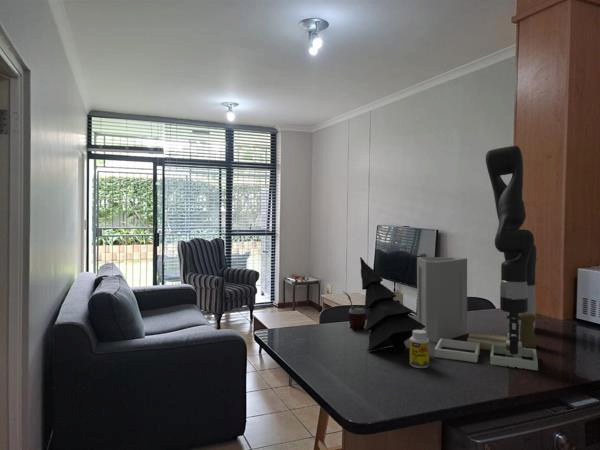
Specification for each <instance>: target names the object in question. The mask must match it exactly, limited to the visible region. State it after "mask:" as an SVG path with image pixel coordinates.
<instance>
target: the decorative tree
mask: <svg viewBox="0 0 600 450" xmlns="http://www.w3.org/2000/svg"><path fill="white" fill-rule="evenodd" d="M359 259H360V260H359V261H360V279H361V290H365V297H364V298H365V300H364V301H365V302H364V310H367V309H369V311H368V313H367V316H366V323H365V326H364V328H365V329H364V330H363V332H367V331H370V332H369V336H368V346H367V350H366V352H371V351H372V352H373V351H377V350H381V349H384V348H389V347H393V349H394V351H395V354H397V355H398V354H402V353H405V352H406V351H408V348H407V346H406V343H405V342H406V341H407V340H410V338H411V337H412V336H413V335H412V334H413V330H422V329H423V328H425V327H426V326H424V325H423V324H421V323H420V322H418V321H417V319H415V318H413V317H411V316H410V314H411V313H412V312H414V310H413V309H411V308H409V307H407V306H406V305H404V304H403V305H402V304H400V303H399V302H397V301H395V300H393V298H394V297H396V295H395V294H394V293H393V292H392V290H391V289H389V288H388V287H387V286H385V285H384V284H383V283H382V282H383V281H384V279H383V278H382V277H381V276H380V275H379V274H378V273H377V272H376V271H375V270H374V269H373V268H372V267H370V266H369V265H368V264H367V263H366V262H365V260H364V259H363V258H362V257H359Z"/></svg>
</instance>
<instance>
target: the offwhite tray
mask: <svg viewBox="0 0 600 450" xmlns="http://www.w3.org/2000/svg"><path fill="white" fill-rule="evenodd" d="M443 347H444V348H445V349H444V348H443ZM442 348H443V349H442ZM446 348H451V350H450V349H446ZM452 349H458V350H452ZM460 350H465V351H460ZM466 350H468V351H473V352H468V351H466ZM480 351H481V349H480V343H476V342H467V340H457V339H456V340H455V339H441V338H440V340H439V342H438V343H436V346H435V347H434V357H435V358H440V359H447V360H448V359H449V360H455V361H463V362H471V363H478V361H479V357H478V356H479V355H480Z"/></svg>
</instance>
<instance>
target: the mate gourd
mask: <svg viewBox="0 0 600 450" xmlns="http://www.w3.org/2000/svg"><path fill="white" fill-rule="evenodd" d="M343 293H344V294H345V295H346V296H347V298H348V300H349V303H350V305H351V307H350V308H349V310H348V314H347V318H348V321H349V325H350V326H349V328H350V329H352V331H354V332H355V331H357V330H361V331H364V329H365V326H366V322H367V312H366V309H365V307H359V306H353V303H352V300H351V299H352V298H351V296H350V295H349V294H348V293H347V292H345V291H343Z"/></svg>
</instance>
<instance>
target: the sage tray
mask: <svg viewBox="0 0 600 450" xmlns="http://www.w3.org/2000/svg"><path fill="white" fill-rule="evenodd" d="M495 354H501V355H506V346H502V345H493V344H492V347H491V350H490V356H489V359H490V361H489V363H490V365H493V366H501V367H507V366H509V368H515V367H517V368H516V369H523V368H524V370H525V369H526V370H533V371H539V362H538V361H539V360H538V356H537V355H538V354H537V349H536V348H526V347H522V357H525V358H532V360H531V359H524V358H522V359H517V358H509V357H506V356H500V355H495Z"/></svg>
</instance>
